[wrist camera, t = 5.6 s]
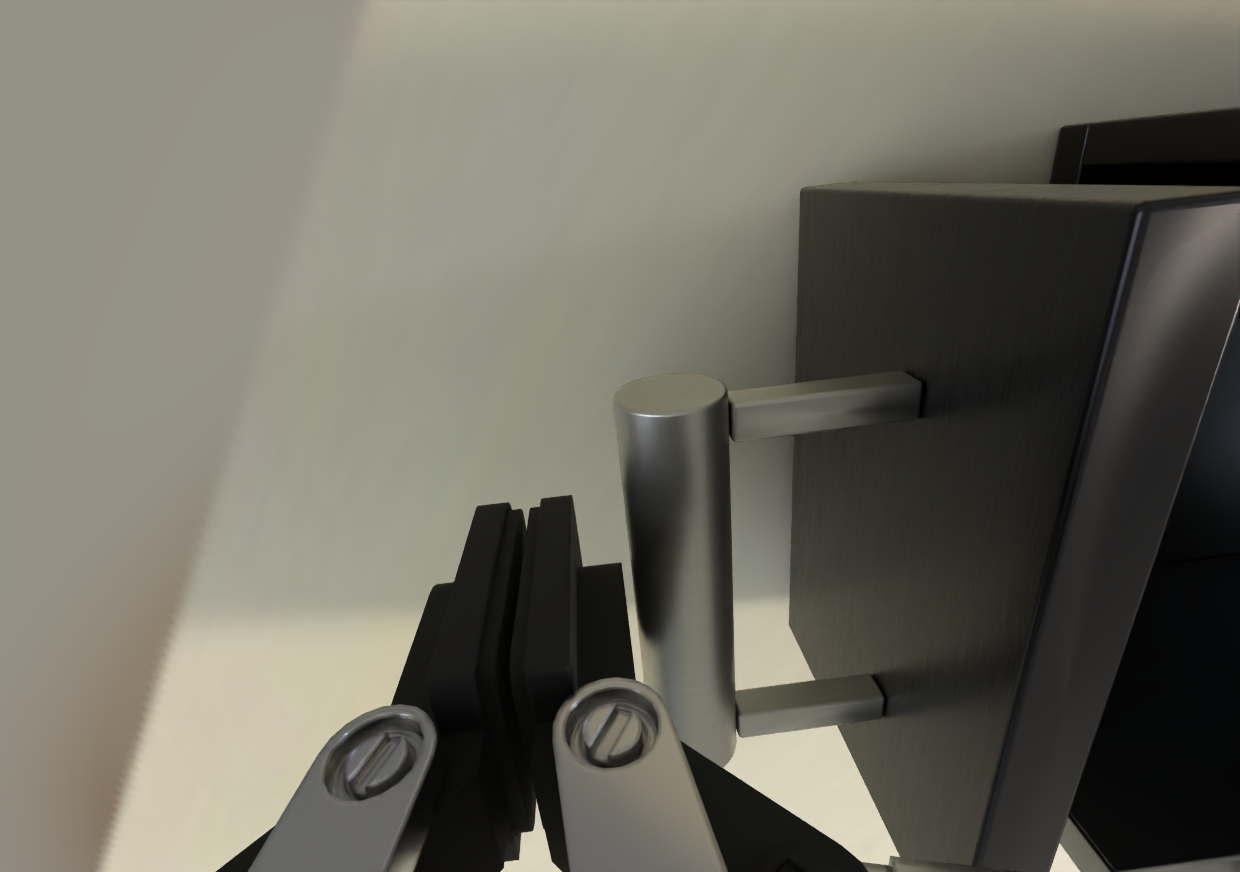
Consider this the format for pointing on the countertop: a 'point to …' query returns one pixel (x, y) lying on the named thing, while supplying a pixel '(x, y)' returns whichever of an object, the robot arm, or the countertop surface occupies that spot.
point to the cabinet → (1150, 150)
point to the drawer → (982, 519)
